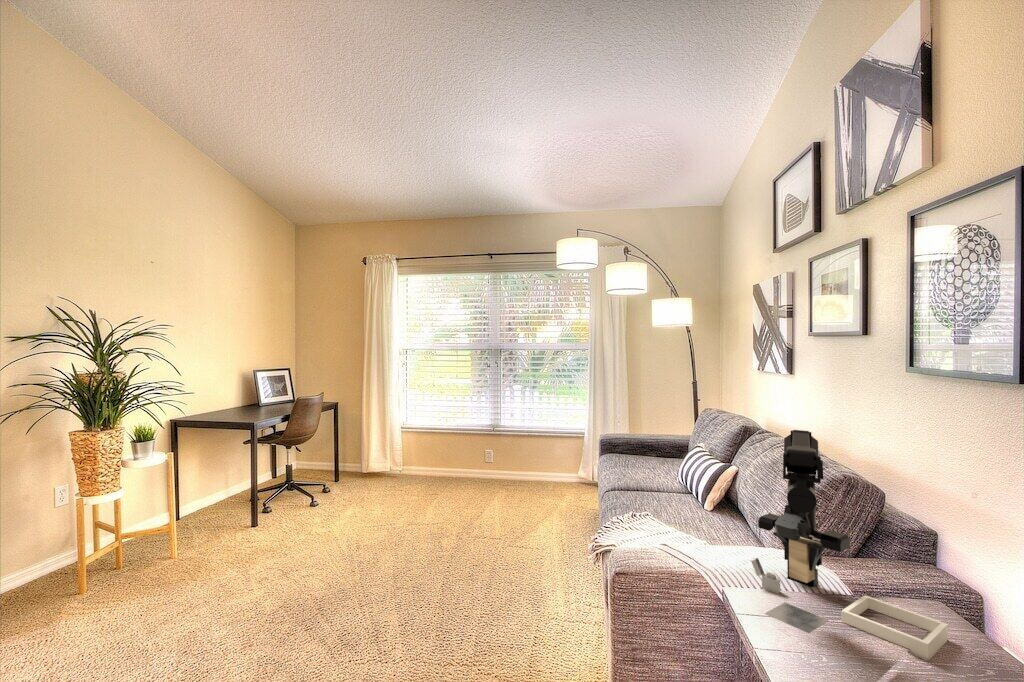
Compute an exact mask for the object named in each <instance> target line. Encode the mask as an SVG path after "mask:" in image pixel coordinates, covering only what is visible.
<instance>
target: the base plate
mask: <svg viewBox="0 0 1024 682" xmlns="http://www.w3.org/2000/svg"><path fill="white" fill-rule="evenodd" d="M764 615H767V616H769V617H771V618H773V619H776V620H777V621H780V622H781V623H784V624H787V625H790V626H791V627H793V628H796V629H798V630H799V631H803V632H805V633H807V634H811V632H813V631H814V630H816V629H818V628H819V627H821V626H822V625H824V624H825V623H827V622H829V620H828V619H827V618H824V617H823V616H820V615H816V614H815V613H812V612H809V611H807V610H804V609H803V608H800V607H797V606H794V605H792V604H790V603H787V602H783V603H781V604H779V605H777V606H776V607H774V608H772V609H769V610H768V611H767V612H764Z"/></svg>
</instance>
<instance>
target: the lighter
mask: <svg viewBox="0 0 1024 682" xmlns="http://www.w3.org/2000/svg"><path fill="white" fill-rule="evenodd" d="M750 562H751V564H752V568H753V570H754V571H755V574H756V576H757V577H758V576H759V577H760V576H761V588H762V589H764V590H766V591H767V590H768V591H769V592H772V593H774V594H780V593H781V579H780V578H778V577H777V575H776V574H775V573H772V572H769V571H767V572H766V573H765V572H764V569H763V566H762V564H761V562H760V559H759V557H755V558H752V559H751V560H750Z"/></svg>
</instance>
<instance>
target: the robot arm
mask: <svg viewBox="0 0 1024 682" xmlns="http://www.w3.org/2000/svg"><path fill="white" fill-rule="evenodd" d="M782 455H783V457H782V460H783V461H782V462H783V463H782V479H783V480H787V494H786V499H787V504H785V505H784V511H783V514H781V515H777V514H773V513H770V512H769V513H766V514H763V515H761V516H759V517H758V519H757V528H758V529H762V530H766V531H769V532H770V531H772V530H773V529H774V532H772V535H773V536H775V537H777V538H778V539H779V540H780V541H781V543H782V545H783V548H784V550H783V551H784V556H783V557H784V561H787V564H786V565H787V576H786V579H787V580H790V581H793V582H796V583H798V584H800V585H804V586H805V587H806V586H807V587H809V588H814V587H816V586H818V585H819V574H818V573H819V570H818V569H817V567H820V566H822V565H823V563H822V562H823V561H822V559H823V558H822V557H823V552H824V551H825V550H826V549H828V550H831V551H834V552H840V553H841V552H843V551H845V550H847V549H849V548H851V539H850V537H849V535H848V534H846V533H843V532H840V531H835V530H832V529H829V530H827V531H826V532H825V531H824V532H822V531H818V530H817V529H818V528H819V524H818V523H816V513H817V512H818V511H819V510H818V509H819V508H818V507H819V506H818V505H817V503H818V502H817V501H818V500H817V494H816V493H817V492H816V484H821V482H822V481H821V480H824V461H823V460H822V459H821V456H820V455H819V441H818V440H817V439H816V438H815V437H814V436H812V431H809V430H801V429H800V430H799V429H793V430H790V434H789V435H787V436H786V437H783V452H782ZM816 476H817V477H816ZM800 537H803V538H806V539H810V540H813V542H812V543H810V544H808V546H809V548H810V558H809V569H810V571H813V570H814V568H815V579H814V580H812V581H810V582H808V583H805V582H802V581H799V580H797V579H794V578H791V577H789V539H790V540H793V541H797V540H799V539H800Z"/></svg>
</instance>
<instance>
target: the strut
mask: <svg viewBox="0 0 1024 682" xmlns="http://www.w3.org/2000/svg"><path fill="white" fill-rule="evenodd" d="M812 542H813V540H810V539H806V538H803V537H800V539H799V540H797V541H793V540H790V539H789V577H791V578H794V579H797V580H799V581H802V582H805V583H808V582H810V581H812V580H814V579H815V568H814V570H813V571H810V569H809V558H810V548H809V546H808V544H810V543H812Z"/></svg>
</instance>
